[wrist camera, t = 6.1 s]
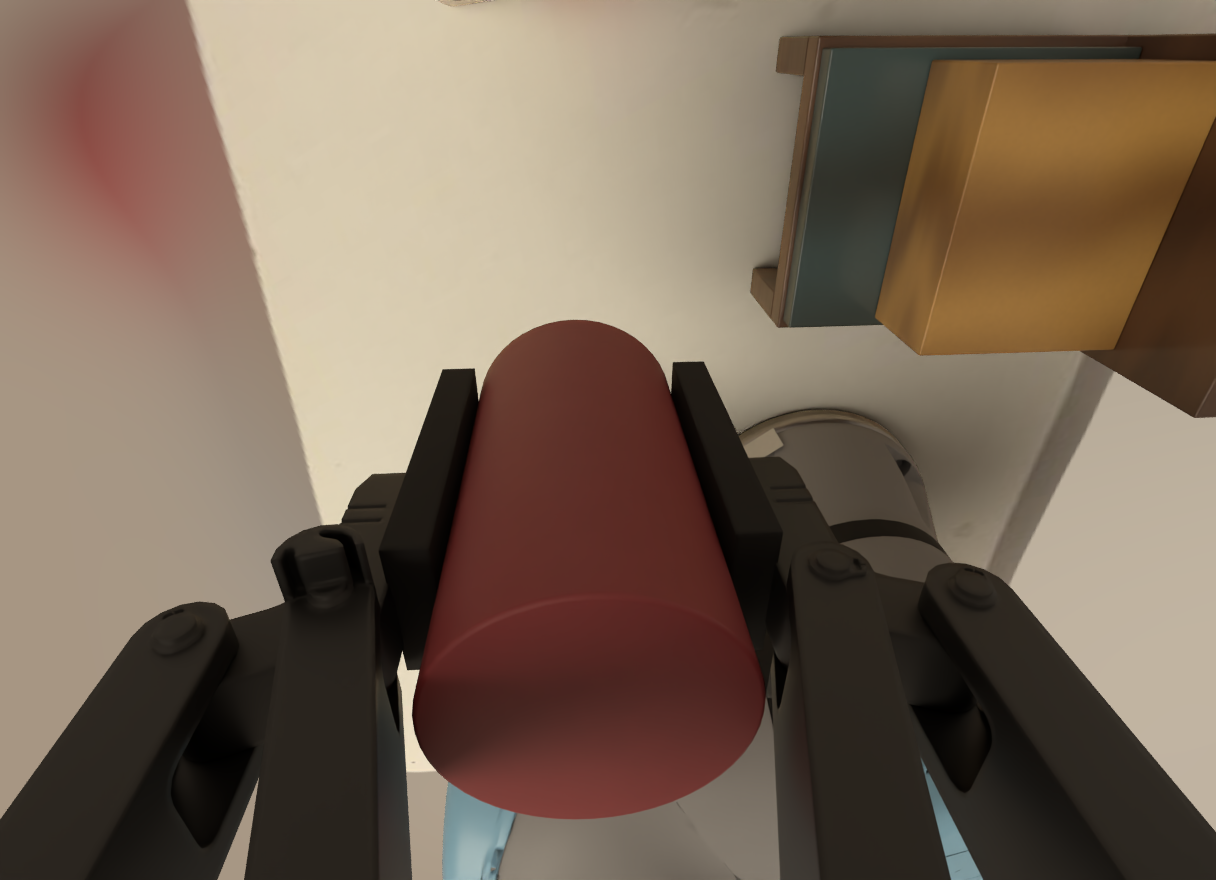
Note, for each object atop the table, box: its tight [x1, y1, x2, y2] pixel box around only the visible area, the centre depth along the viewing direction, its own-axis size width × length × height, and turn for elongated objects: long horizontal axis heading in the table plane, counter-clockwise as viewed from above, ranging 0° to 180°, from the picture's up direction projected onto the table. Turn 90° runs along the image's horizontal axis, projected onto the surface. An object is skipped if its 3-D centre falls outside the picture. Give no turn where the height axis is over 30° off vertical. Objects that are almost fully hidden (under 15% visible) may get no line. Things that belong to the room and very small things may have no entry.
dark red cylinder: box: [412, 320, 766, 820], centre depth 13 cm, size 5×5×9 cm
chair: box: [751, 34, 1216, 418], centre depth 27 cm, size 12×14×15 cm
